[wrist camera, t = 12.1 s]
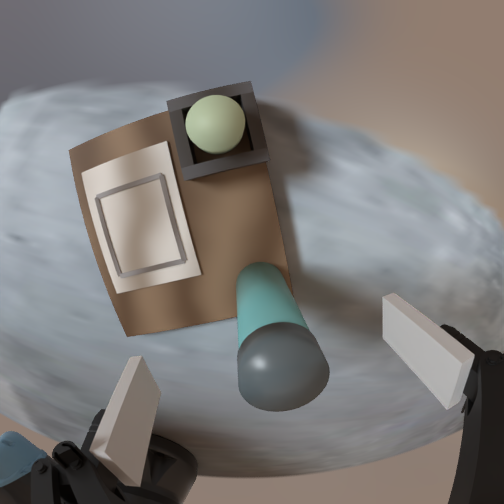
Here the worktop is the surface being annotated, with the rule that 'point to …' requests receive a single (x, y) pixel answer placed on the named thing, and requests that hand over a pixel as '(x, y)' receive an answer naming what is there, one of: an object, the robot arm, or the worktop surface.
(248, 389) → the marker
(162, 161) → the clipboard
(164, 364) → the worktop surface
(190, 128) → the button
